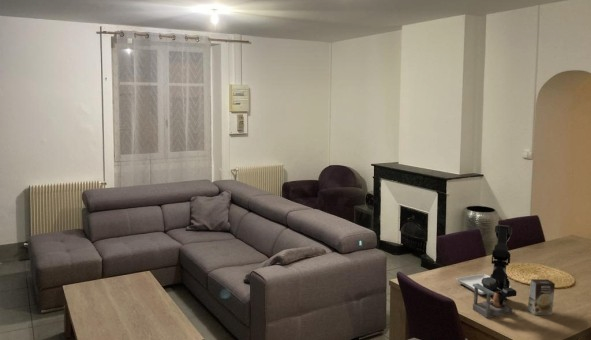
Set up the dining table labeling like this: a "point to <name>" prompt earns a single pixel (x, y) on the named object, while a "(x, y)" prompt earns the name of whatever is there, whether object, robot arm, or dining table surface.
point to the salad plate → (473, 281)
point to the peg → (496, 299)
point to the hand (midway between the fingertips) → (497, 303)
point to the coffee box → (541, 297)
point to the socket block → (489, 304)
